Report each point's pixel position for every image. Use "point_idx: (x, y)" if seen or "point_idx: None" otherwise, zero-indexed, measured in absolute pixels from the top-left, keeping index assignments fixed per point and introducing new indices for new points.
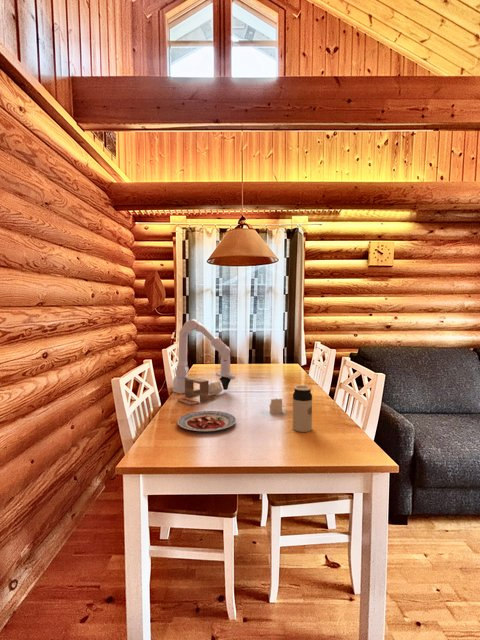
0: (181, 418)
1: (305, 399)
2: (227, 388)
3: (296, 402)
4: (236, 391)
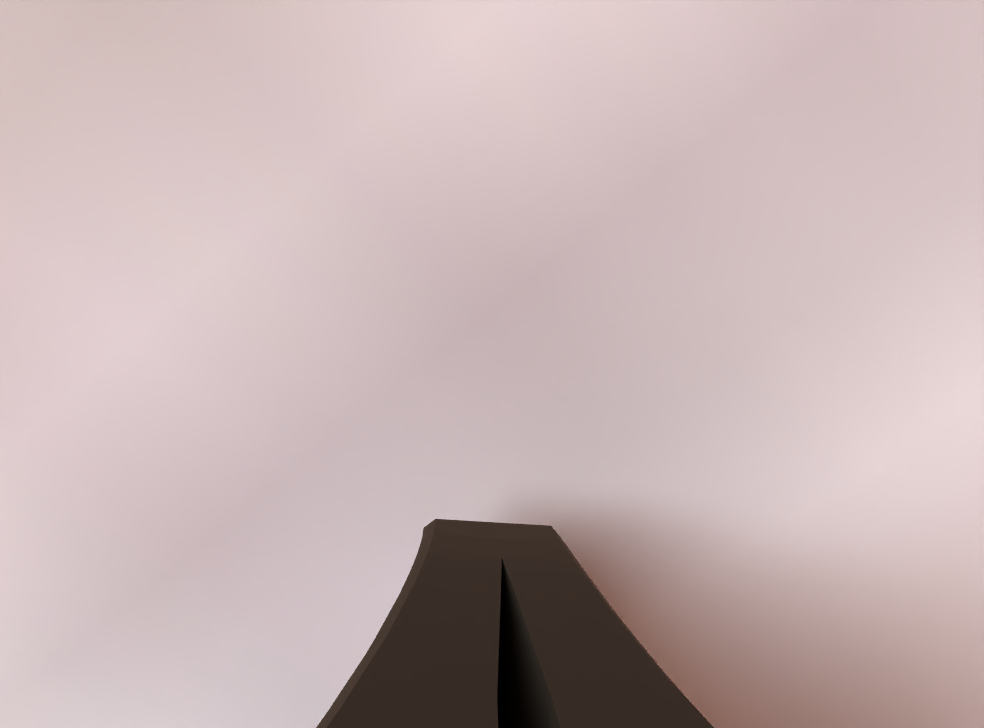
0: None
1: None
2: (571, 560)
3: None
4: (860, 44)
